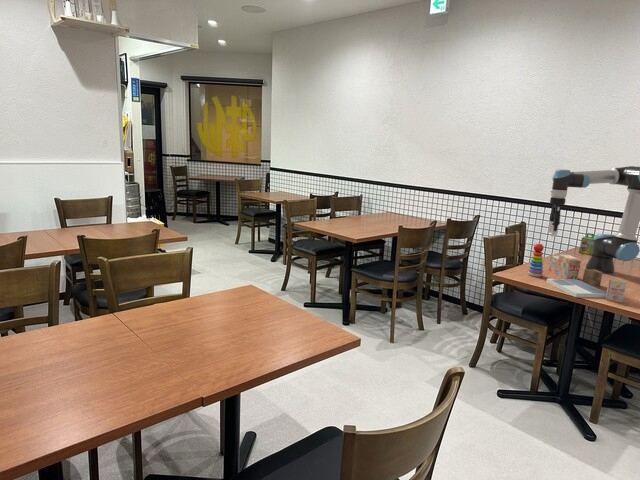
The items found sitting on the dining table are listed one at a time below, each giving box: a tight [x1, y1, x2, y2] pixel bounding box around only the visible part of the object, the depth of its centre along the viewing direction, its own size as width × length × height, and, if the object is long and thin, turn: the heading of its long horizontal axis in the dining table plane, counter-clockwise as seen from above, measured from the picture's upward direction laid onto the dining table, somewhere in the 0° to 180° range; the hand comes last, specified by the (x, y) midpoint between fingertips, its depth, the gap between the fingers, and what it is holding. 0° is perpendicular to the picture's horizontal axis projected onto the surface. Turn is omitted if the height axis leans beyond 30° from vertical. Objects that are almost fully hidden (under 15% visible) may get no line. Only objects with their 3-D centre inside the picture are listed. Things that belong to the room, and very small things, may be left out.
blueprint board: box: [545, 278, 607, 299], centre depth 232 cm, size 18×24×2 cm
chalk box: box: [578, 232, 595, 256], centre depth 322 cm, size 9×9×15 cm
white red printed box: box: [605, 279, 627, 304], centre depth 217 cm, size 4×7×10 cm, turn 61°
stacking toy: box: [527, 243, 544, 278], centre depth 254 cm, size 8×8×19 cm
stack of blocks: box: [548, 254, 582, 280], centre depth 258 cm, size 21×6×12 cm, turn 178°
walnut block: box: [581, 268, 604, 288], centre depth 242 cm, size 6×6×8 cm
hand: (552, 234), depth 252 cm, fingers open, 13 cm apart
